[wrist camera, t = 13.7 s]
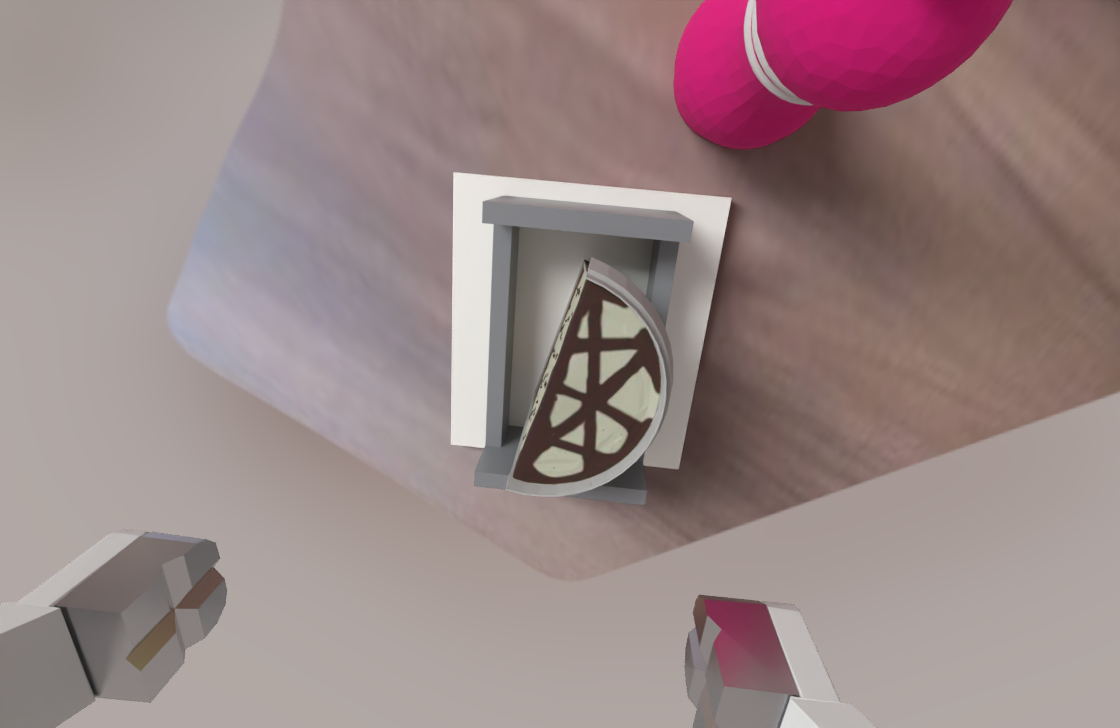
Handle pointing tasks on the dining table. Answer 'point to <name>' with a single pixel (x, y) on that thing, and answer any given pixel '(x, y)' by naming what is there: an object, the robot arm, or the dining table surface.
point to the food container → (595, 389)
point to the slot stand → (544, 291)
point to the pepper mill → (816, 59)
